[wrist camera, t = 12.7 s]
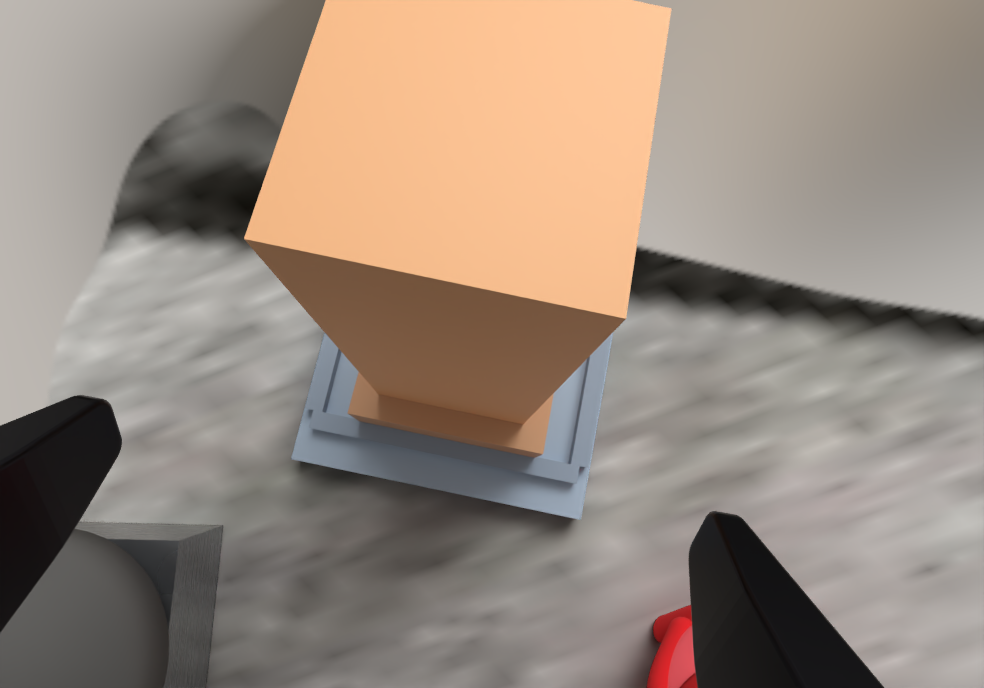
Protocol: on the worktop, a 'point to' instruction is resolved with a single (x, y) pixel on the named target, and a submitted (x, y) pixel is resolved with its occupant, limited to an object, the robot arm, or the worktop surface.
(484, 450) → the tray
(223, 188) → the worktop surface
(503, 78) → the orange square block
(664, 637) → the cap
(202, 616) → the axle mount
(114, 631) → the wheel
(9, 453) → the robot arm
